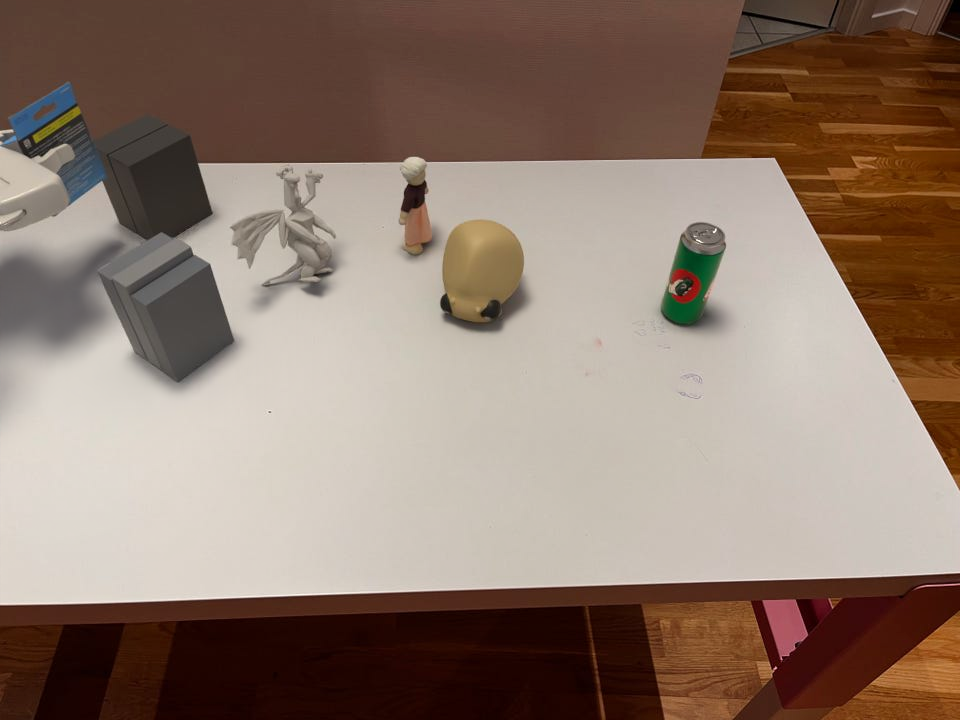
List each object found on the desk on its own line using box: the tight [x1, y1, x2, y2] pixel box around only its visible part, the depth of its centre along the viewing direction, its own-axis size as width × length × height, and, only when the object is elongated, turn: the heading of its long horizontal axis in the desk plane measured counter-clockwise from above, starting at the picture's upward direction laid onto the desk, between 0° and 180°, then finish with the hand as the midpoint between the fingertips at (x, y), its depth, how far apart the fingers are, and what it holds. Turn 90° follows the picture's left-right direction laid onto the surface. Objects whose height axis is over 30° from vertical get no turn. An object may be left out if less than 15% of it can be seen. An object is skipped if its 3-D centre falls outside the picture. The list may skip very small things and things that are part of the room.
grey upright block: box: [96, 232, 235, 383], centre depth 80 cm, size 8×8×12 cm
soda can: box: [660, 221, 727, 325], centre depth 86 cm, size 5×5×12 cm
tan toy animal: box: [439, 219, 525, 323], centre depth 88 cm, size 10×12×11 cm
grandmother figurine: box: [398, 156, 433, 256], centre depth 94 cm, size 8×4×13 cm, turn 171°
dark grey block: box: [92, 113, 214, 241], centre depth 96 cm, size 8×9×12 cm
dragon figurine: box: [228, 163, 337, 286], centre depth 90 cm, size 10×18×14 cm, turn 168°
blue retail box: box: [0, 81, 107, 218], centre depth 83 cm, size 9×4×12 cm, turn 158°
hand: (54, 140), depth 83 cm, fingers closed on blue retail box, 4 cm apart
